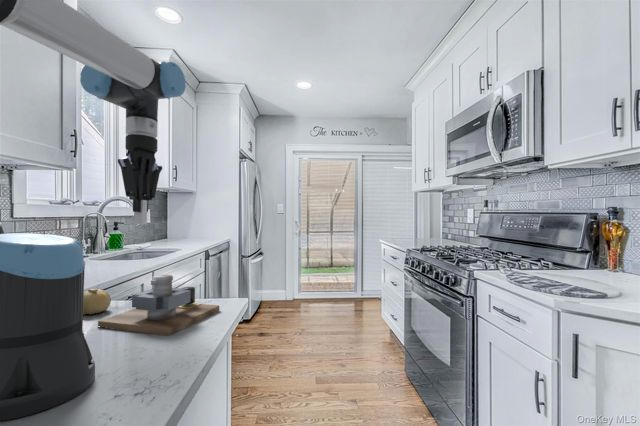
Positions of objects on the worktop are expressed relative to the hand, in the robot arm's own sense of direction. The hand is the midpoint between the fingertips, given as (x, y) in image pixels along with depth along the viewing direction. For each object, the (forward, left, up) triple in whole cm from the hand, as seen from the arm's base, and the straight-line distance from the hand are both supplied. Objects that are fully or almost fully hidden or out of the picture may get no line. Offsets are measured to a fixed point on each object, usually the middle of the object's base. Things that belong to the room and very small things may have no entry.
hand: (140, 224), depth 87 cm
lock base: (0, -8, -24) cm, 26 cm away
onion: (-1, +14, -25) cm, 28 cm away
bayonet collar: (0, -10, -22) cm, 24 cm away
